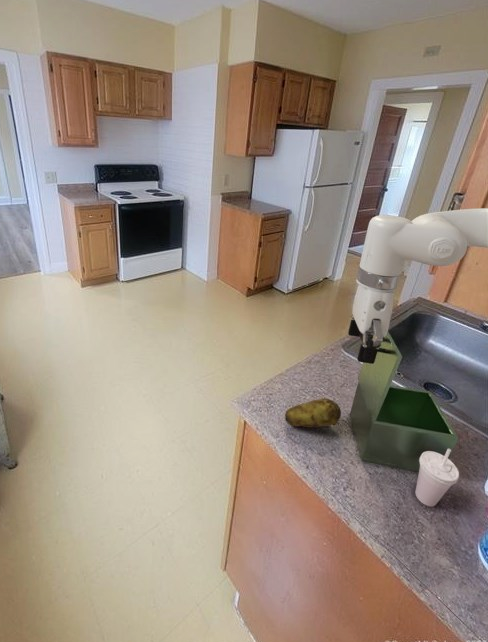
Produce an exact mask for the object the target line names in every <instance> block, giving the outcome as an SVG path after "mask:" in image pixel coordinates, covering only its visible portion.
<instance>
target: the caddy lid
mask: <svg viewBox="0 0 488 642" xmlns="http://www.w3.org/2000/svg"><path fill="white" fill-rule="evenodd" d="M358 338H359V340H360V341H361V344H363V334H362V333H361V332H360V333H359V337H358ZM372 338H373V336H368V341H369V340H373V339H372ZM380 345H381V346H380V347H379V349H378V351H377V355H376V359H375V362H374V363H373V364H370V363H363V362H362V365H361V367H360V370H359V373H358V375H357V381H359V384H360V388H361V391H362V394H363V397H364V400H365V403H366V406H367V409H368V412H369V415H370V418H371V421H374V422H375V421H376V419H377V416H378V414H379V411H380V409H381V407H382V404H383V402H384V399H385V397H386V395H387V392H388V390H389V388H390V385H392V383H393V380H394V378H395V376H396V373H397V371H398V368H399V366H400V364H401V361H402V359H403V355H402V353H401V352H400V350H399V348H398V346H397V345H396V343H395V340H394V339H393V338H392V335H391V334H390V332H389V331H388V332H387V335H386V336H385V337H383V341H382V343H381V344H380Z"/></svg>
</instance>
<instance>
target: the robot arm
mask: <svg viewBox="0 0 488 642" xmlns="http://www.w3.org/2000/svg"><path fill="white" fill-rule="evenodd" d="M468 247H473V248H474V247H476V248H477V247H478V248H485V249H488V208H487V207H486V208H485V207H484V208H482V207H481V208H479V207H478V208H465V209H464V208H463V209H453V210H443V211H434V212H428V213H424V214H421V215H418V216H417V217H415V218H413V219H412V220H410V219H408V218H406V217H404V216H398V215H390V214H380V215H375V216H373V217H372V218H370V220H369V222H368V225H367V231H366V234H365V238H364V244H363V249H362V253H361V257H360V260H359V261H360V262H359V266H358V270H357V274H356V280H355V282H356V284H358V285H357V288H356V292H355V295H354V300H353V304H352V309H351V311H352V314H351V319H350V323H349V328H348V332H347V334H348V336H351V337H358V338H360V337H359V333H360V332H361V333H362V334H363V344H362V343H361V344H360V346H359V350H358V354H357V358H356V359H357V361H358V363H362V364H363V363H370V364H373V363H374V362H375V359H376V355H377V351H378V349H379V347H380V346H381V345H380V344H381V343H382V341H383V337H385V336H386V335H387V332H389V329H390V328H389V327H390V324H391V318H392V314H393V308H394V302H395V292H396V291H397V290H398V287H399V284H400V280H401V278H402V277H401V276H402V273H403V270H404V266H405V262H406V260H410V261H413V262H417V263H420V264H424V265H427V266H433V267H446V266H450V265H453V264H456V263H457V262H459V261H460V260H462V259H463V257H464V256H465V255H466V253H467V250H468ZM369 330H370V331H369ZM368 336H373V338H372V339H373V340H369V341H368Z"/></svg>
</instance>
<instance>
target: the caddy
mask: <svg viewBox="0 0 488 642" xmlns="http://www.w3.org/2000/svg"><path fill="white" fill-rule="evenodd" d="M357 381H358V380H357ZM356 385H357V386H356V389H355V393H354V395H353V396H354V397H353V401H352V405H351V409H350V412H349V417H350V421H351V425H352V429H353V433H354V436H355V441H356V445H357V449H358V452H359V457H360V461H362V462H367V463H372V464H377V465H382V466H387V467H391V468H396V469H397V468H398V469H402V470H406V471H412V472H417V473H419V469H420V462H419V459H420V457H421V455H422V453H423V452H426V451H433V452H437V453H439V454H441V455H443V456H445V454H446V452H447V449H451V452H450V454H449V457H448V459H449V460H450V458H451V456H452V454H453V451H454V449H455V447H456V445H457V443H458V441H459V436H458V435H457V433H456V431H455V430H454V428H453V426H452V424H451V423H450V422H449V420H448V418H447V416H446V414H445V413H444V411H443V410H442V408H441V406H440V405H439V403H438V401H437V399H436V398H435V396H434V395H433V393H432V391H430V390H424V389H417V388H412V387H403V386H399V385H392V384H391V385H390V388H389V390H388V392H387V395H386V397H385V399H384V402H383V404H382V407H381V409H380V411H379V414H378V416H377V419H376V421H375V422H374V421H371V418H370V415H369V412H368V409H367V406H366V403H365V400H364V397H363V394H362V391H361V388H360V384H359V381H358V382H357V384H356Z"/></svg>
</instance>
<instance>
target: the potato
mask: <svg viewBox="0 0 488 642" xmlns="http://www.w3.org/2000/svg"><path fill="white" fill-rule="evenodd" d="M284 414H285V415H284V419H285V420H284V421H285V422H286V423H287V424H288V425H290V426H292V427H296V428H297V427H300V426H301V427H305V428H320V427H326V426H336V425H337V424H338V423H339V421H340V418H341V416H342V410H341V407H340V405H339V404H338V403H336V402H335V401H334V400H332V399H330V398H325V397H324V398H323V397H322V398H318V399H314V400H310V401H308V402H305V403H301V404H297V405H294V406H292V407H290V408H288V409H287V410H286V411H285V413H284Z"/></svg>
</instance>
